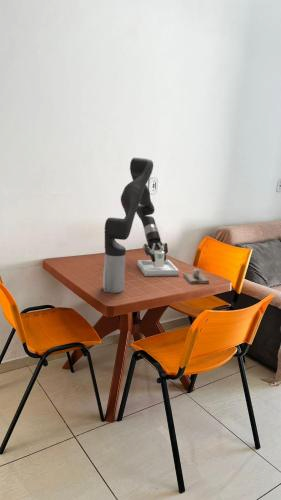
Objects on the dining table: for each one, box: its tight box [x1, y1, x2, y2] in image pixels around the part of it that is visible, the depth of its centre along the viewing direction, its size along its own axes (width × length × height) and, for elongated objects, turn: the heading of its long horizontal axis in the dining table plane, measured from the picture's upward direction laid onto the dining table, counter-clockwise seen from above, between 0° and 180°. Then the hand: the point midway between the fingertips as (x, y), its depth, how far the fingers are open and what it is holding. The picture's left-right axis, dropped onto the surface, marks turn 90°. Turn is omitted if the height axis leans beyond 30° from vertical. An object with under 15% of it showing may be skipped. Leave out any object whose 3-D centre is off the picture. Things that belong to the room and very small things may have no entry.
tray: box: [137, 259, 180, 277], centre depth 206 cm, size 18×18×3 cm
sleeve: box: [152, 249, 165, 267], centre depth 204 cm, size 5×6×8 cm
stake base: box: [182, 268, 210, 285], centre depth 194 cm, size 10×10×6 cm
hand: (159, 261), depth 203 cm, fingers closed on sleeve, 5 cm apart
